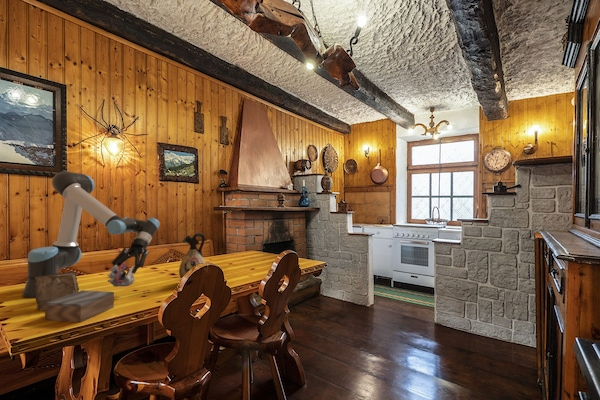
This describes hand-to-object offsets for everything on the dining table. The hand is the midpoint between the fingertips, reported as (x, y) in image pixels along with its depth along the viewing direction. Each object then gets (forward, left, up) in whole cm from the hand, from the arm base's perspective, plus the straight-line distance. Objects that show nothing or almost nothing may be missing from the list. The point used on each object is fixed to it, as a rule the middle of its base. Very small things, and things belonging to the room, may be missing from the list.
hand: (118, 277), depth 144 cm
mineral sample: (-18, -15, -10) cm, 26 cm away
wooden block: (-1, -21, -10) cm, 23 cm away
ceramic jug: (+23, +31, -10) cm, 41 cm away
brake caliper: (0, +2, -4) cm, 5 cm away
